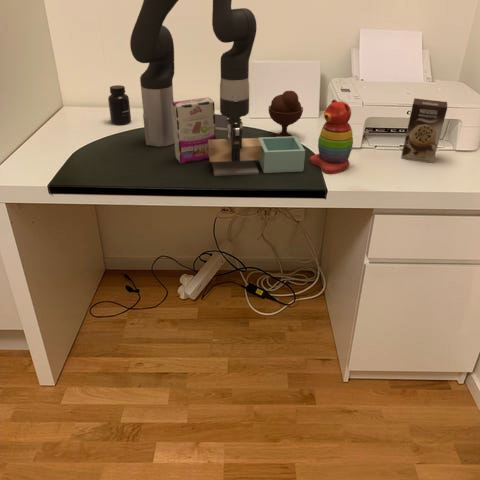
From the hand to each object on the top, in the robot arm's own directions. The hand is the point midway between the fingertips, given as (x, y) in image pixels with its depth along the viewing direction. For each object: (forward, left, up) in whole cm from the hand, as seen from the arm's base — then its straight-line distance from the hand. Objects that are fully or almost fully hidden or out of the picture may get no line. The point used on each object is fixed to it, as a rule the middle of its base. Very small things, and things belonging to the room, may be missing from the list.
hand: (234, 156), depth 129 cm
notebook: (-6, +39, -4) cm, 40 cm away
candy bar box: (-10, +7, -3) cm, 13 cm away
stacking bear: (+28, -2, -3) cm, 28 cm away
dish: (+13, 0, -3) cm, 13 cm away
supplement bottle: (-34, +41, -3) cm, 54 cm away
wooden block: (0, 0, 0) cm, 0 cm away
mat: (0, 0, -3) cm, 3 cm away
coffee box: (+55, +1, -3) cm, 55 cm away
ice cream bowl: (+19, +21, -3) cm, 29 cm away
